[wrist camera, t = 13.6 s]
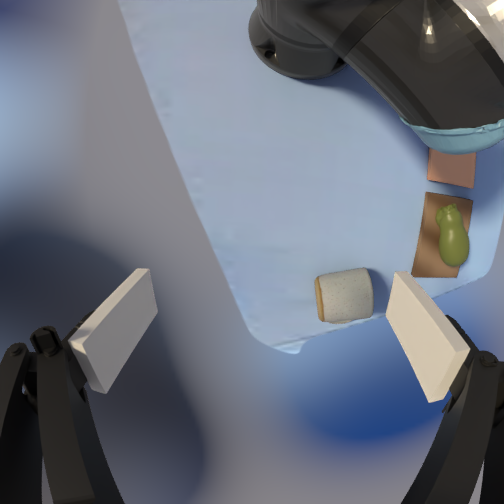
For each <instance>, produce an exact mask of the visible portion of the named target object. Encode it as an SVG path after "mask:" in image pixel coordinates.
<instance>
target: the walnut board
mask: <svg viewBox="0 0 504 504" xmlns="http://www.w3.org/2000/svg"><path fill="white" fill-rule="evenodd" d="M451 204H456V206H457V210H458V211H460V213H461V215H462V219H463V225H464V228H465V230H466V232H467V234H468V229H469V223H470V218H471V212H472V205H473V201H472V200H470V199H465V198H460V197H454V196H449V195H443V194H437V193H431V192H426V194H425V202H424V209H423V216H422V222H421V228H420V234H419V239H418V245H417V250H416V254H415V259H414V263H413V268H412V272H411V275H412V276H413V277H457V274H458V271H459V267H460V266H456V267H451V266H448V265H446V264H445V263H444V262H443V261H442V259H441V257H440V254H439V238H440V228H439V226H438V224H437V223H436V220H435V217H436V212H437V209H439V208H441V207H446V206H448V205H451Z"/></svg>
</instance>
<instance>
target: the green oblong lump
mask: <svg viewBox="0 0 504 504" xmlns="http://www.w3.org/2000/svg"><path fill="white" fill-rule="evenodd" d="M435 220H436V223H437V224H438V226H439V228H440V238H439V254H440V257H441V259H442V261H443V262H444V263H445V264H446V265H448V266H451V267H456V266H460V265H461V264H463V263H464V262H465V261H466V259H467V257H468V254H469V238H468V234H467V232H466V230H465V228H464V225H463V219H462V215H461V213H460V211H458V210H457V206H456V204H451V205H448V206H446V207H441V208H439V209H437V212H436V217H435Z"/></svg>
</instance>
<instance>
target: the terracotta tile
mask: <svg viewBox="0 0 504 504" xmlns="http://www.w3.org/2000/svg"><path fill="white" fill-rule="evenodd" d="M475 165H476V152H474V153H470V154H463V155H451V154H444V153H441V152H439V151H437V150H434V149H431V148H430V147H429V161H428V174H427V179H428V180H433V181H439V182H444V183H449V184H454V185H458V186H463V187H467V188H472V189H473V187H474V177H475Z"/></svg>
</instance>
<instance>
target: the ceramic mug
mask: <svg viewBox="0 0 504 504" xmlns="http://www.w3.org/2000/svg"><path fill="white" fill-rule="evenodd" d="M315 292H316V301H317V309H318V317H319V319H320V320H321V321H322V322H329V323H332V324H343V323H347V322H350V321H352V320H355V319H364V318H370V317H371V316H372V314H373V308H374V295H373V287H372V282H371V278H370V275H369V273H368V271H367V269H366V268H358V269H352V270H346V271H341V272H336V273H328V274H324V275H321V276H318V277H317V278H316V279H315Z"/></svg>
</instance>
